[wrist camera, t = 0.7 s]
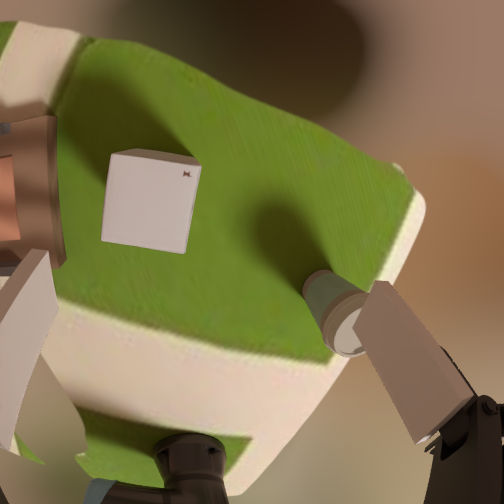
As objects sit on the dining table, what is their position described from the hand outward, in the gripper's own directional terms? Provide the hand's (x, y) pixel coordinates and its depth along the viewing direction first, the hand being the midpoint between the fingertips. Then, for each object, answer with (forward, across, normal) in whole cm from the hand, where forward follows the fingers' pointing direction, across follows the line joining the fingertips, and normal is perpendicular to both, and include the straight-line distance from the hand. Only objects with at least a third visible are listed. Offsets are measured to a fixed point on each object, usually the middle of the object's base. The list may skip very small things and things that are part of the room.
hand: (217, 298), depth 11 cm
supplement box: (+26, +5, +4) cm, 26 cm away
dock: (+24, +28, +7) cm, 37 cm away
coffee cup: (+24, -19, +16) cm, 35 cm away
